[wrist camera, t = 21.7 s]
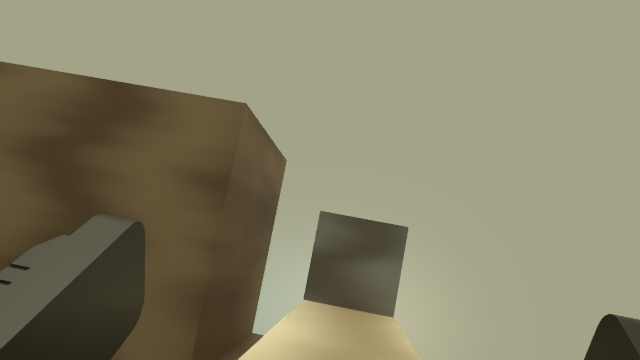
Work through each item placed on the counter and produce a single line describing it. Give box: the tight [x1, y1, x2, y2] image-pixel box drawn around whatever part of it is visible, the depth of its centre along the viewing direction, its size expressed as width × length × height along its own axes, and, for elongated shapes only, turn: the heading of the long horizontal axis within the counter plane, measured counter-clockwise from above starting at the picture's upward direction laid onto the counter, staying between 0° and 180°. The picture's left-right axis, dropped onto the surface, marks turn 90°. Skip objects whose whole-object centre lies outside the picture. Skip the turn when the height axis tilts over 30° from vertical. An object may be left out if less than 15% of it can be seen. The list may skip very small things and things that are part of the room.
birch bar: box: [238, 211, 421, 360], centre depth 19 cm, size 4×20×7 cm, turn 177°
